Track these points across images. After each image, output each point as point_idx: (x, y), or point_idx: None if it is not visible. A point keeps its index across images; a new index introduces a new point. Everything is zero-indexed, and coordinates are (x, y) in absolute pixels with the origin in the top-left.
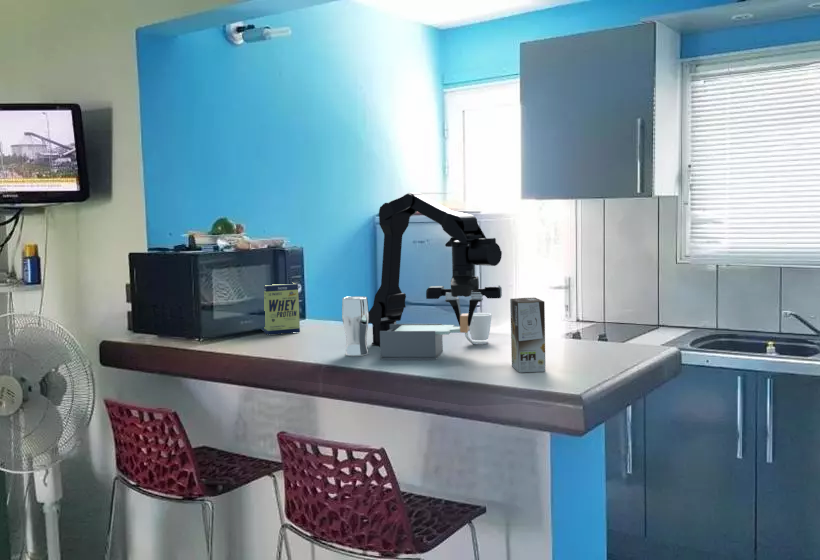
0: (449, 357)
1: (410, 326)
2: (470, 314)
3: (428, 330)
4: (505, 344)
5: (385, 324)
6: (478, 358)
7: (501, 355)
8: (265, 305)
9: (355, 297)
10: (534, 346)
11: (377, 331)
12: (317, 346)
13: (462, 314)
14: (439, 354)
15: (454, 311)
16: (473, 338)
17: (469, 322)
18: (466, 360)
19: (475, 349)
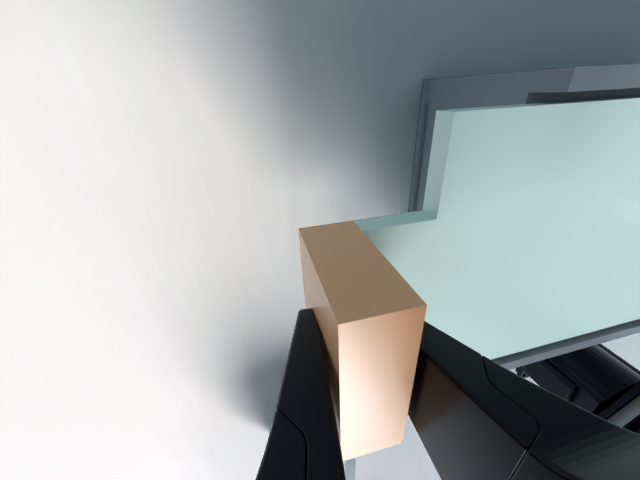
0: (363, 159)
1: (621, 294)
2: (305, 392)
3: (589, 154)
4: (200, 432)
5: (621, 382)
6: (211, 147)
7: (116, 245)
8: None
9: None
10: None
11: (614, 357)
12: None
13: (397, 404)
14: (410, 208)
15: (515, 375)
16: None
17: (304, 327)
18: (263, 75)
19: (284, 339)
